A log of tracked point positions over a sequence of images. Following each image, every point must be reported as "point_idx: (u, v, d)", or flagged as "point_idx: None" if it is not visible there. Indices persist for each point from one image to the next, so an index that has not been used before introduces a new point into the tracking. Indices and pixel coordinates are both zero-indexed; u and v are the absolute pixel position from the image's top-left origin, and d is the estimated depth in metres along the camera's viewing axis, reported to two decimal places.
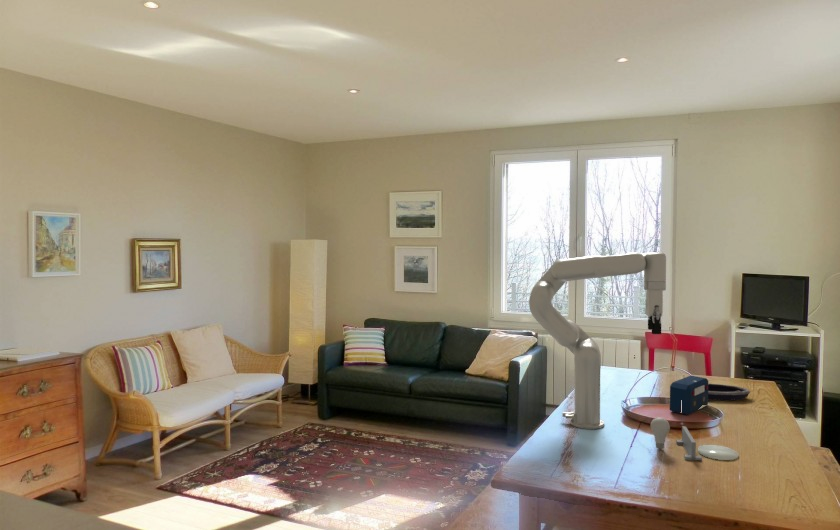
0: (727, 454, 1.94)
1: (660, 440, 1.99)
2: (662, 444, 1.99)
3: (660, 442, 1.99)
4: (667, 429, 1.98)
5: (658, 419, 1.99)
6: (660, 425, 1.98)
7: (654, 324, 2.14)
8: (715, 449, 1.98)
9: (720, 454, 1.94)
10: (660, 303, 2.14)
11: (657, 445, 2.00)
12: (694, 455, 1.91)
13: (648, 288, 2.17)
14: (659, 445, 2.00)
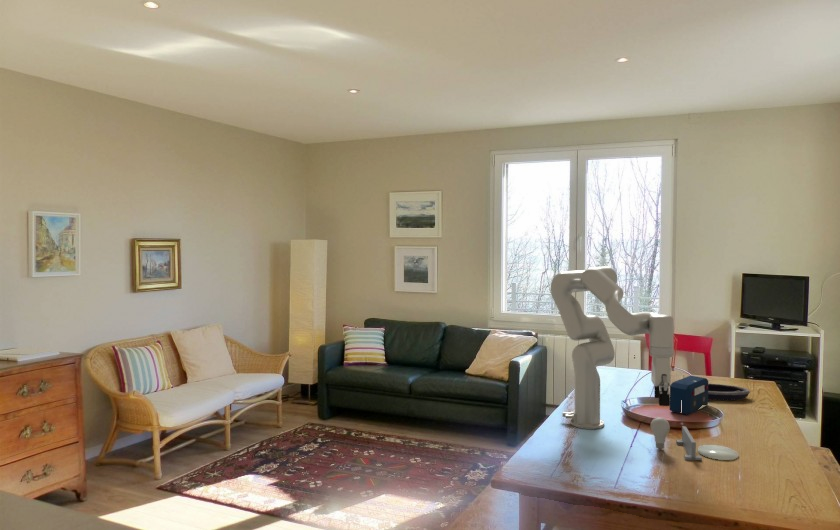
0: (727, 454, 1.94)
1: (660, 440, 1.99)
2: (662, 444, 1.99)
3: (660, 442, 1.99)
4: (667, 429, 1.98)
5: (658, 419, 1.99)
6: (660, 425, 1.98)
7: (661, 395, 1.94)
8: (715, 449, 1.98)
9: (720, 454, 1.94)
10: (668, 372, 1.94)
11: (657, 445, 2.00)
12: (694, 455, 1.91)
13: (654, 354, 1.97)
14: (659, 445, 2.00)
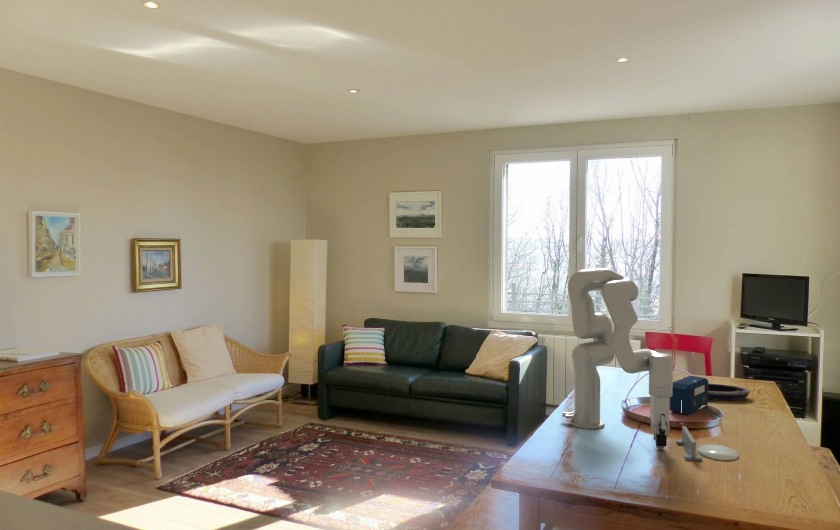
0: (727, 454, 1.94)
1: None
2: None
3: None
4: (667, 429, 1.98)
5: None
6: None
7: (659, 436, 1.97)
8: (715, 449, 1.98)
9: (720, 454, 1.94)
10: (666, 412, 1.95)
11: None
12: (694, 455, 1.91)
13: (653, 394, 1.98)
14: None
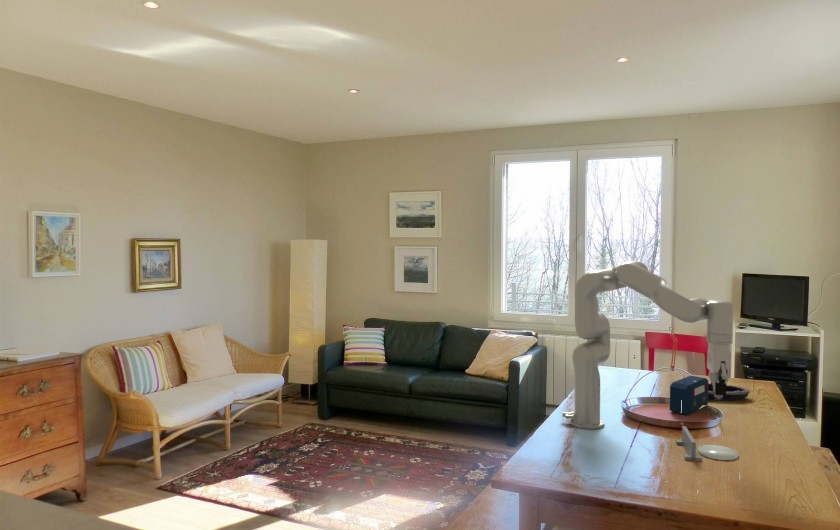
0: (727, 454, 1.94)
1: None
2: None
3: None
4: (727, 377, 1.92)
5: None
6: None
7: (718, 384, 1.92)
8: (715, 449, 1.98)
9: (720, 454, 1.94)
10: (727, 359, 1.90)
11: None
12: (694, 455, 1.91)
13: (713, 341, 1.92)
14: None
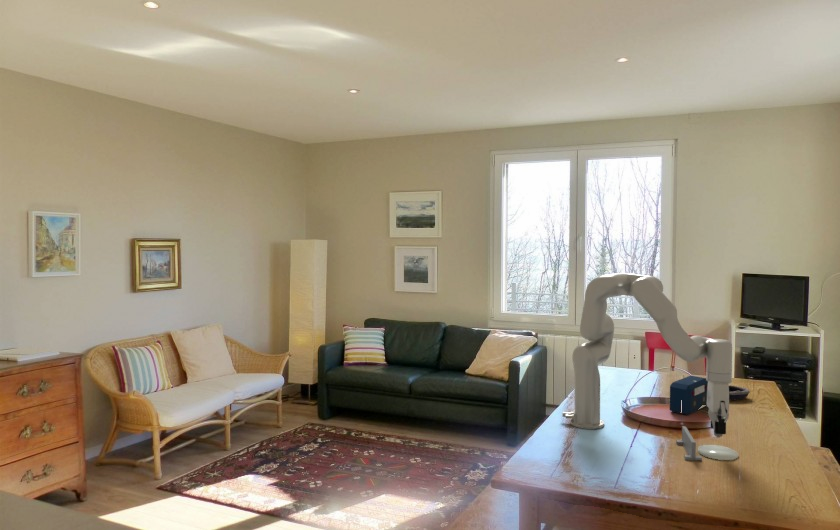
0: (727, 454, 1.94)
1: None
2: None
3: None
4: (726, 416, 1.93)
5: None
6: None
7: (718, 423, 1.93)
8: (715, 449, 1.98)
9: (720, 454, 1.94)
10: (726, 398, 1.90)
11: (715, 433, 1.95)
12: (694, 455, 1.91)
13: (712, 380, 1.93)
14: None
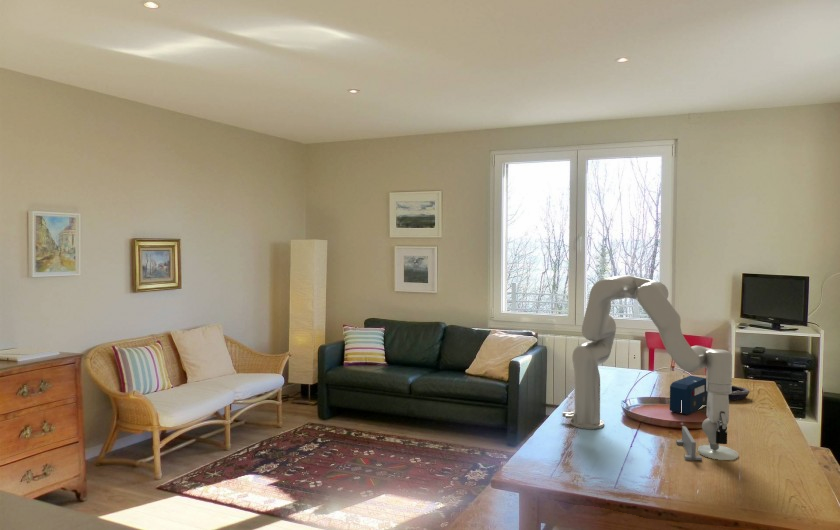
0: (727, 454, 1.94)
1: (714, 441, 1.95)
2: (717, 445, 1.95)
3: (714, 443, 1.95)
4: None
5: (709, 420, 1.95)
6: (712, 426, 1.94)
7: (719, 433, 1.91)
8: None
9: (720, 454, 1.94)
10: (726, 409, 1.91)
11: (711, 446, 1.96)
12: (694, 455, 1.91)
13: (712, 391, 1.93)
14: (713, 446, 1.96)
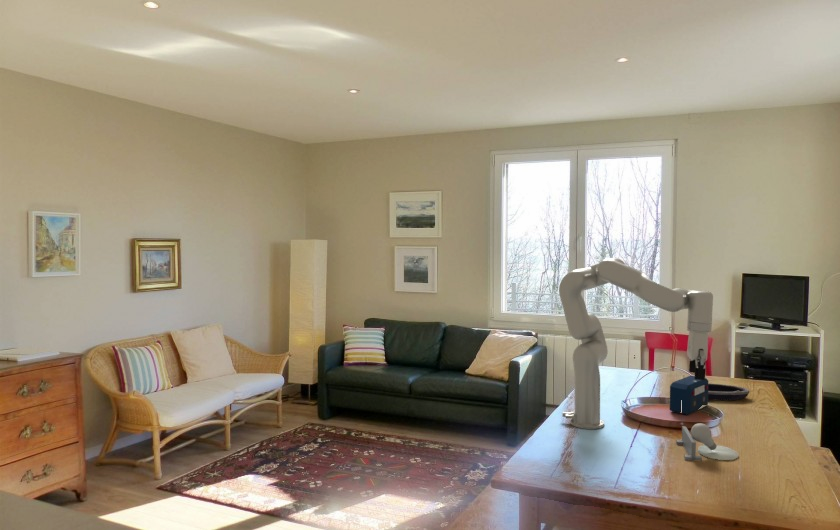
0: (727, 454, 1.94)
1: (709, 444, 1.94)
2: (713, 445, 1.95)
3: (710, 445, 1.95)
4: (708, 434, 1.92)
5: (695, 430, 1.94)
6: (700, 436, 1.92)
7: (698, 369, 1.98)
8: (715, 449, 1.98)
9: (720, 454, 1.94)
10: (705, 347, 1.98)
11: (709, 448, 1.96)
12: (694, 455, 1.91)
13: (692, 329, 2.00)
14: (710, 447, 1.95)
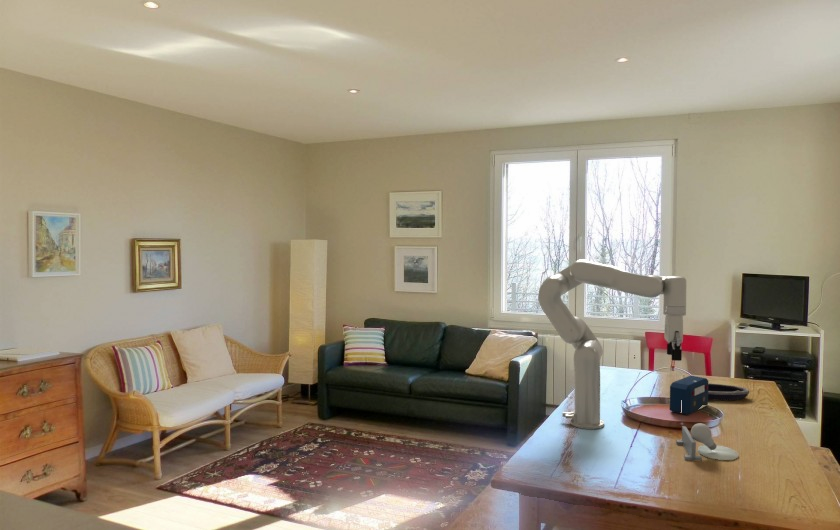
0: (727, 454, 1.94)
1: (709, 444, 1.94)
2: (713, 445, 1.95)
3: (710, 445, 1.95)
4: (708, 434, 1.92)
5: (695, 430, 1.94)
6: (700, 436, 1.92)
7: (674, 350, 2.09)
8: (715, 449, 1.98)
9: (720, 454, 1.94)
10: (680, 329, 2.08)
11: (709, 448, 1.96)
12: (694, 455, 1.91)
13: (668, 313, 2.11)
14: (710, 447, 1.95)
